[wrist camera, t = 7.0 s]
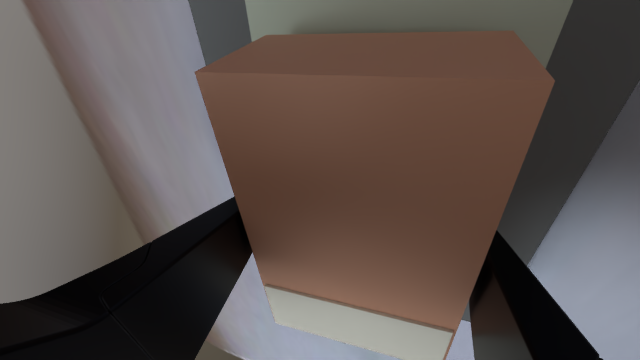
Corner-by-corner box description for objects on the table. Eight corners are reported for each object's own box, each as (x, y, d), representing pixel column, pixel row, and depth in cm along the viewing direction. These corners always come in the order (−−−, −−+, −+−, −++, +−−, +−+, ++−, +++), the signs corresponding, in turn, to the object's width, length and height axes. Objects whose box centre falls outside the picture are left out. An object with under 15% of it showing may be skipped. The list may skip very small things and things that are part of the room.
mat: (488, 315, 15) (490, 329, 14) (265, 260, 18) (259, 270, 17) (781, -199, 5) (822, -215, 4) (172, -116, 8) (153, -119, 8)
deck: (266, 34, 8) (191, 73, 6) (513, 30, 7) (557, 83, 4) (303, 257, 14) (274, 324, 11) (441, 285, 12) (441, 372, 10)
